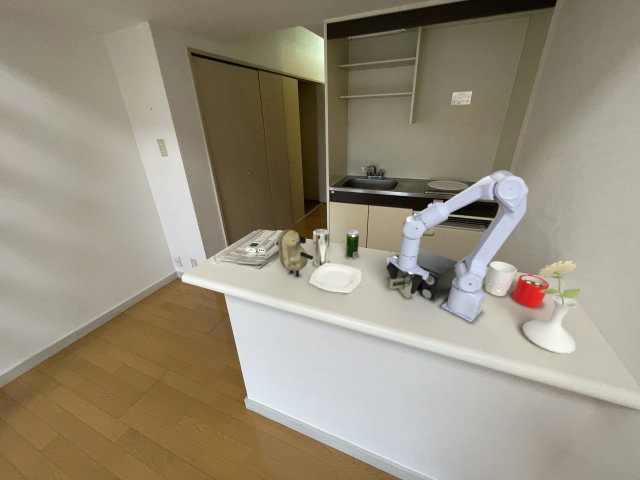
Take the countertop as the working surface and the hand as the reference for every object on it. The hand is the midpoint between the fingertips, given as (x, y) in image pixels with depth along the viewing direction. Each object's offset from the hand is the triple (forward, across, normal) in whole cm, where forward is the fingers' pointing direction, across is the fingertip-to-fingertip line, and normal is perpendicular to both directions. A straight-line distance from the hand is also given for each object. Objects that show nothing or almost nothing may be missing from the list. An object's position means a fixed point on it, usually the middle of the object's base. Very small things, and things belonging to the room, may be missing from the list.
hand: (403, 287), depth 88 cm
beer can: (+4, +32, -10) cm, 34 cm away
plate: (+4, +23, +10) cm, 25 cm away
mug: (+4, -29, -32) cm, 43 cm away
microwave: (+4, 0, -13) cm, 14 cm away
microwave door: (+4, +5, -2) cm, 7 cm away
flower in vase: (+4, -37, -12) cm, 39 cm away
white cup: (+4, -20, -29) cm, 35 cm away
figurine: (+4, +37, +19) cm, 42 cm away
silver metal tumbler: (+4, +37, +5) cm, 37 cm away
